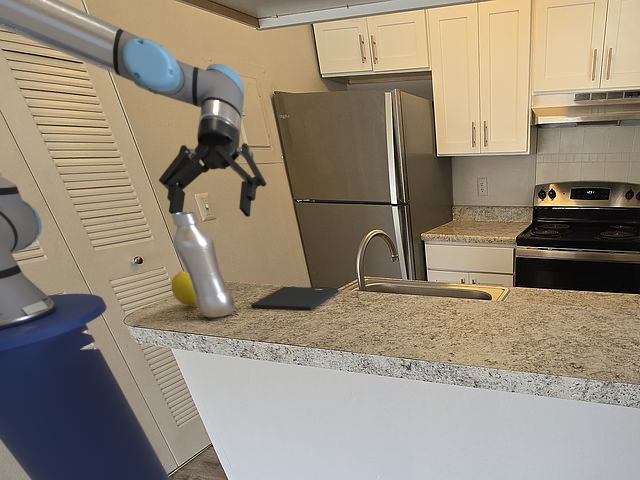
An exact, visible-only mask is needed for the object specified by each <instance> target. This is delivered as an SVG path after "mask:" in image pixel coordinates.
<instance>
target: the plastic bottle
mask: <svg viewBox="0 0 640 480" xmlns="http://www.w3.org/2000/svg"><path fill="white" fill-rule="evenodd" d="M170 214H171V213H170ZM171 217H172V221H173V225H174V226H176V231H175V233H174V235H173V239H172V245H173V247H174V250H175V251H176V253H177V255H178V257H179V259H180V260H181V262H182V264H183V265H184V268H185V270H186V272H187V273H188V274H189V277H190V279H191V282H192V286H193V289H194V293H195V295H196V296H195V299H196V304H197V307H196V308H197V309H198V311H199V312H200V314H201V315H203V316H204V317H206V318H210V319H211V318H220V317H224V316H227V315H230V314H231V313H233V312H234V311H235V308H236V304H235V300H234V296H233V295H232V294H231V291H230V290H229V289H228V286H227V284H226V282H225V280H224V278H223V275H222V272H221V269H220V265H219V263H218V258H217V253H216V247H215V243H214V240H213V239H212V237H211V235H209V233H207V231H205V230H204V229H203V228H201V227H200V226H199V225H198V224H199V220H198V218H197V215H196V213H195V211H183V212H181V213H174V214H171Z"/></svg>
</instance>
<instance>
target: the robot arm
mask: <svg viewBox="0 0 640 480" xmlns="http://www.w3.org/2000/svg"><path fill="white" fill-rule="evenodd" d="M0 28H1V29H3V30H5V31H8V32H10V33H13V34H14V35H15V34H16V35H18V36H21V37H23V38H25V39H27V40H30V41H33V42H35V43H37V44H39V45H42V46H45V47H48V48H49V49H52V50H55V51H57V52H60V53H61V54H64V55H67V56H70V57H72V58H74V59H76V60H77V59H78V60H80V61H82V62H84V63H87V64H89V65H92V66H95V67H97V68H100V69H101V70H104V71H106V72H109V73H111V74H114V75H116V76H119V77H121V78H123V79H126V80H127V81H130V82H133V84H134V85H136V87H138V88H140V89H142V90H145V91H148V92H149V93H152V94H154V95H160V96H161V97H165V98H168V99H172V100H175V101H179V102H182V103H186V104H189V105H193V106H194V107H197V108H200V112H199V118H198V126H197V127H198V128H197V135H196V138H197V139H196V140H197V145H196V147H195V148H188V146H187V145H185V144H182V145H181V146H180V147H179V151H178V153H177V155H176V156H175V158H174V159H173V160H172V161H171V163H170V164H169V165H168V167H167V168H166V170H165V171H164V172H163V173H162V175H160V177H159V179H158V181H159V183H160V184H161V185H162V186H163V187H164V188H166V190H168V191H167V197H166V198H167V200H168V201H169V205H168V213H170V214H174V213H181V212H184V205H185V199H186V192H185V191H184V190H185V189H186V188H187V187H188V186H189V185H190V184H191V183H193V182H194V181H195V180H196V179H197V178H198V177H199V176H201V175H202V174H203V173H204V174H206V173H207V172H209V171H210V170H218V169H221V170H226V169H227V168H230V169H231V170H233V172H235V173H236V174H237V175H238V176H239V177H240V178H241V180H242V181H241V184H240V185H241V186H240V197H239V206H238V207H239V210H240V211H241V213H242V214H243V215H244V216H245V217H246V218H249V217H251V209H252V202H253V201H255V200H256V196H257V189H258V187H266V186H267V182H266V180H265V178H264V176H263V174H262V172H261V171H260V169H259V167H258V165H257V164H256V162H255V160H254V152H253V150H251V148H250V146H249V145H248V143H247V142H244V143H242V144H241V147H240V136H241V126H242V119H243V118H242V117H243V108H244V101H245V100H244V98H245V95H244V94H245V87H244V82H243V79H242V78H241V76H240V75H239V74H238V72H237V71H235V70H234V69H233V68H232V67H230V66H228V65H226V64H223V63H211V64H209V65H207V67H206V69H203V68H201V67H197V66H194V65H191V64H188V63H186V62H183V61H180V60H178V59H176V58H175V57H174V56H173V54H172V53H171V52H170V51H169V50H168V49H167V48H165V47H164V46H163V45H162V44H160V43H158V42H156V41H154V40H152V39H149V38H146V37H140V36H138V35H136V34H134V33H132V32H129V31H127V30H124V29H122V28H121V27H118V26H116V25H114V24H112V23H109V22H107V21H106V20H103V19H101V18H99V17H96V16H95V15H92V14H91V13H88V12H85V11H84V10H82V9H79V8H77V7H75V6H72V5H70V4H68V3H66V2H64V1H61V0H0ZM240 156H241V158H243V159H245V162H246V163H247V165H248V167H249V169H250V171H251V172H252V174H253V177H252V176H251V174H249V172H247V171H246V170H245V169H244V168H243V167H242V166H240V164H239V163H238V162H237V161H236V160H237V159H238V158H239V157H240ZM200 161H201V162H202V163H203V165H202V163H201V162H200ZM22 197H23V196H21V193H20V191H19V188H18V185H17V184H16V183H14V182H13V181H11V180H9V179H8V178H6V177H4V176H3V175H2V174H1V172H0V330H4V329H9V328H13V327H17V326H20V325H24V324H27V323H30V322H34V321H36V320H39V319H42V318H44V317H46V316H48V315H50V314H52V313H54V312H55V311H56V309H57V308H56V306H55V304H54V303H53V301H52V300H51V299H50V298H49V297H48V294H46V293H45V292H44V291H43V290H42V289H41V288H39V287H38V286H37V285H36V284H35V283H34V282H32V280H30V279H29V278H28V276H26V275H25V274H24V273H23V271H22V269H21V268H20V265H19V264H18V262H17V261H16V258H15V257H14V255H13V254H14V253H17V252H20V251H23V250H26V249H28V248H29V247H31V245H33V243H35V242H36V241H37V240H38V239H39V237H40V236H41V233H42V229H43V228H42V227H43V225H42V221H41V217H40V215H39V213H38V212H37V211H36V209H35V208H34V207H33V206H32V205H31V204H30V203H28V202H27V201H25V200H24V199H23V198H22Z"/></svg>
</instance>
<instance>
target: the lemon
mask: <svg viewBox="0 0 640 480" xmlns="http://www.w3.org/2000/svg"><path fill="white" fill-rule="evenodd" d="M170 285H171V286H170V287H171V291H172V294H173V296H174V297H175V299H176V300H177V301H178V302H179V303H181V304H182V305H185V306H190V307H192V308H198V307H197V304H196V299H195V296H196V295H195V293H194V289H193V286H192V282H191V279H190V277H189V274H188V272H187V271H186V272H185V271H183V270H181V271H179V272H178V273H177V274H175V275H174V276H173V277H172V279H171V283H170Z"/></svg>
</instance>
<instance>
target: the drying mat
mask: <svg viewBox="0 0 640 480" xmlns="http://www.w3.org/2000/svg"><path fill="white" fill-rule="evenodd" d="M315 289H323V290H315ZM337 293H339V288H338V287H311V286H310V287H309V286H282V287H281V288H278V289H277V290H275V291H273V292H271V293H270V294H267V295H266V296H264V297H262V298H260V299H259V300H257V301H255V302H252V303H251V304H250V306H251V308H252V309H270V310H297V311H299V310H300V311H314V309H316V308H317V307H318V306H320V305H321V304H323V303H325V302H326V301H327V300H329V299H330V298H331V297H333V296H334V295H336V294H337Z"/></svg>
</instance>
